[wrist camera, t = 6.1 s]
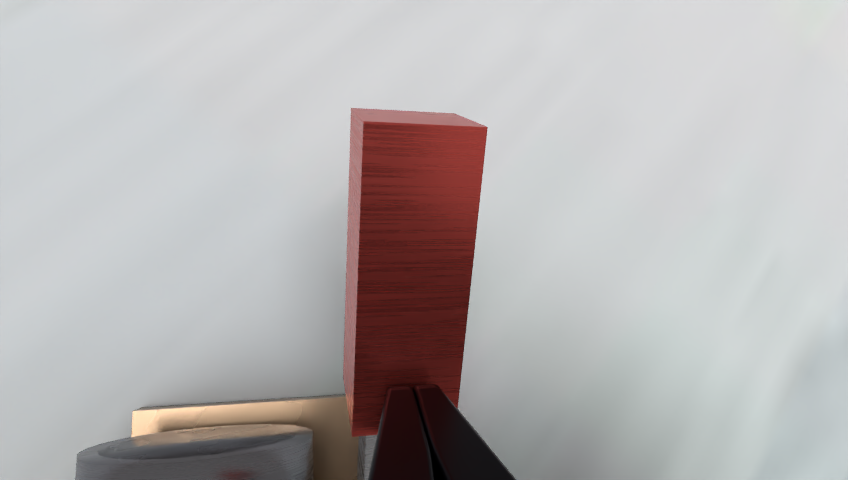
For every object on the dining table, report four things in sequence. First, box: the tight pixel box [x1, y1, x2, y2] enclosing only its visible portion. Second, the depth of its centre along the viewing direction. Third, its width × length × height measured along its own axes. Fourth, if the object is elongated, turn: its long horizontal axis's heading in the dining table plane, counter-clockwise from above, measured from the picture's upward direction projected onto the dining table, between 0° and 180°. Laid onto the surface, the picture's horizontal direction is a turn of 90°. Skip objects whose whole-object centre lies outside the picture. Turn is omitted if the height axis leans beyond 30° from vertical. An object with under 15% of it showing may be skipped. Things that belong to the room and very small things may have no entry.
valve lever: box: [343, 108, 487, 480], centre depth 10 cm, size 2×2×12 cm
